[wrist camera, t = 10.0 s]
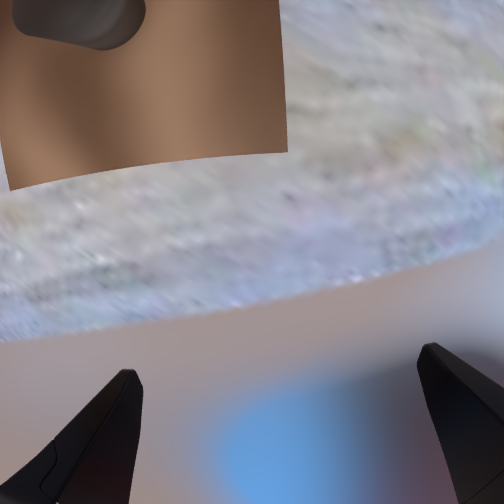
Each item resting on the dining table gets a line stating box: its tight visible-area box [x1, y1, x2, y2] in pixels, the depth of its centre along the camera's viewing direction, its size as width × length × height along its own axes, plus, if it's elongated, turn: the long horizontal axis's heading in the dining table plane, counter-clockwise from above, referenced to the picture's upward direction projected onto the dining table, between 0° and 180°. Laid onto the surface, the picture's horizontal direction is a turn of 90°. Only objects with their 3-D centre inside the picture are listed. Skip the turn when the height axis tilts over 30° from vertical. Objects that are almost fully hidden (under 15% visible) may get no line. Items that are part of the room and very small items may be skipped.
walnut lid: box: [0, 0, 288, 191], centre depth 8 cm, size 14×14×6 cm
